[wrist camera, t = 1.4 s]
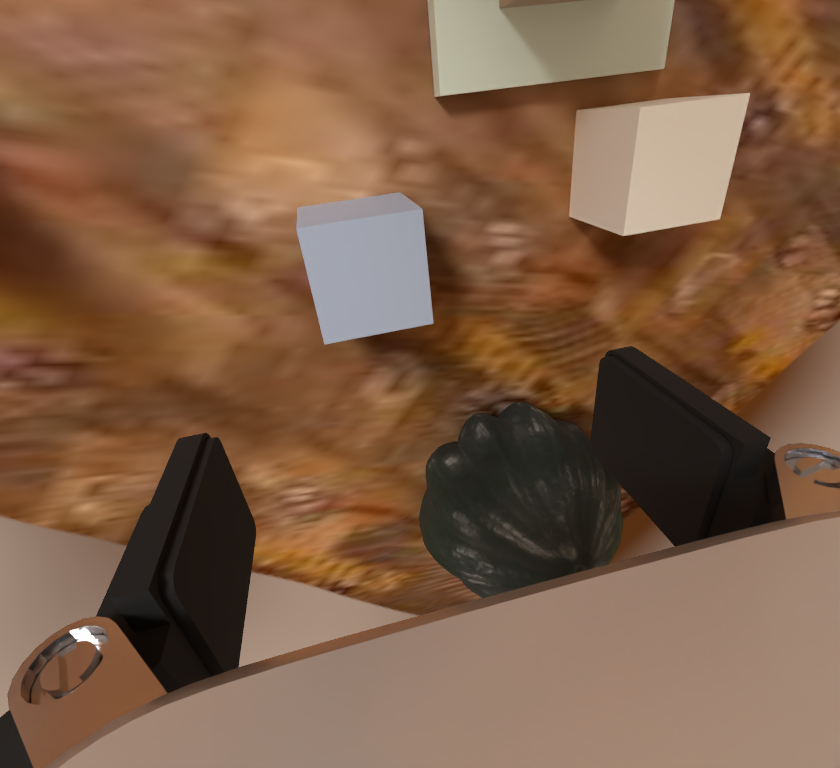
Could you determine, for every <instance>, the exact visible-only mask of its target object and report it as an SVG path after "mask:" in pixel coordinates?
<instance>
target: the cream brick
mask: <svg viewBox="0 0 840 768" xmlns="http://www.w3.org/2000/svg"><path fill="white" fill-rule="evenodd" d="M749 97H750V93H741V94H726V95H710V96H694V97H679V98H666V99H658V100H650V101H643V102H635V103H627V104H620V105H612V106H605V107H597V108H589V109H582V110H576V124H575V138H574V152H573V167H572V181H571V196H570V210H569V217H572V218H574V219H577V220H580V221H583V222H585V223H588V224H591V225H594V226H597V227H599V228H602V229H605V230H608V231H611V232H613V233H616V234H619V235H622V236H627V235H632V234H638V233H644V232H650V231H655V230H661V229H667V228H673V227H678V226H684V225H690V224H696V223H701V222H707V221H713V220H719V219H720V217H721V213H722V209H723V205H724V201H725V196H726V192H727V188H728V184H729V180H730V176H731V172H732V167H733V163H734V159H735V155H736V151H737V147H738V142H739V138H740V134H741V130H742V126H743V122H744V117H745V113H746V109H747V105H748V101H749Z"/></svg>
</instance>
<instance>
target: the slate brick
mask: <svg viewBox="0 0 840 768" xmlns="http://www.w3.org/2000/svg"><path fill="white" fill-rule="evenodd" d="M296 230H297V234H298V238H299V242H300V246H301V250H302V254H303V258H304V262H305V266H306V271H307V275H308V279H309V283H310V287H311V291H312V295H313V299H314V303H315V307H316V311H317V316H318V320H319V324H320V328H321V332H322V336H323V340H324V344H330V343H335V342H340V341H345V340H350V339H356V338H361V337H366V336H371V335H377V334H382V333H387V332H392V331H398V330H403V329H408V328H413V327H418V326H424V325H429V324H434V323H433V313H432V302H431V292H430V282H429V271H428V261H427V251H426V241H425V230H424V220H423V210H422V208H421V207H419V206H418V205H417V204H415V203H414V202H413V201H411V200H410V199H409V198H407V197H406V196H404V195H403V194H402V193H400V192H398V193H392V194H385V195H378V196H372V197H365V198H358V199H352V200H345V201H338V202H332V203H325V204H318V205H311V206H305V207H298V212H297V225H296Z"/></svg>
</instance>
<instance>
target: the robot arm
mask: <svg viewBox="0 0 840 768" xmlns="http://www.w3.org/2000/svg"><path fill="white" fill-rule="evenodd" d="M769 441H770V437H768V436H767V435H766V434H764V433H763V432H761V431H760V430H758V429H757V428H755V427H754V426H752V425H751V424H749V423H748V422H746V421H744V420H743V419H742V418H740V417H739V416H737V415H736V414H734V413H733V412H731V411H730V410H728V409H727V408H725V407H724V406H722V405H721V404H719V403H718V402H716V401H714V400H713V399H711V398H710V397H708V396H707V395H705V394H704V393H702V392H701V391H699V390H698V389H696V388H695V387H693V386H692V385H690V384H689V383H687V382H686V381H684V380H683V379H681V378H680V377H678V376H677V375H675V374H674V373H672V372H671V371H669V370H668V369H666V368H665V367H663V366H662V365H660V364H659V363H657V362H656V361H654V360H653V359H651V358H650V357H648V356H647V355H645V354H644V353H642V352H641V351H639V350H638V349H636V348H634V347H632V346H630V347H624V348H619V349H614V350H610V351H608V352H607V353H606V355H605V357H604V358H602V359H601V360H600V364H599V372H598V380H597V389H596V398H595V406H594V415H593V424H592V433H591V448H592V451H593V453H594V455H595V456H596V457H597V458H598V460H599V461H600V462H601V463H602V464H603V465H604V466H605V468H606V469H607V470H608V471H609V472H610V473H611V474H612V475H613V477H614V478H615V479H616V480H617V481H618V482H619V483H620V485H621V486H622V487H623V488H624V489H625V490H626V491H627V493H628V494H629V495H630V496H631V497H632V498H633V499H634V500H635V502H636V503H637V504H638V505H639V506H640V507H641V508H642V510H643V511H644V512H645V513H646V514H647V515H648V516H649V517H650V519H651V520H652V521H653V522H654V523H655V524H656V525H657V527H658V528H659V529H660V530H661V531H662V532H663V533H664V535H665V536H666V537H667V538H668V539H669V540H670V541H671V542H672V544H673V545H674V546H675V547H672V548H668V549H664V550H661V551H657V552H653V553H649V554H646V555H642V556H638V557H634V558H631V559H627V560H623V561H619V562H615V563H612V564H608V565H604V566H600V567H597V568H593V569H589V570H585V571H582V572H578V573H574V574H571V575H567V576H563V577H560V578H556V579H552V580H549V581H545V582H541V583H537V584H534V585H530V586H526V587H523V588H519V589H515V590H512V591H508V592H504V593H501V594H497V595H493V596H490V597H486V598H482V599H479V600H475V601H471V602H468V603H464V604H460V605H457V606H453V607H449V608H446V609H442V610H439V611H435V612H431V613H428V614H424V615H421V616H417V617H413V618H410V619H406V620H403V621H399V622H396V623H392V624H388V625H385V626H381V627H377V628H374V629H370V630H367V631H363V632H359V633H356V634H352V635H348V636H345V637H341V638H338V639H334V640H331V641H327V642H324V643H320V644H317V645H313V646H310V647H306V648H303V649H300V650H297V651H293V652H290V653H286V654H283V655H279V656H276V657H272V658H269V659H266V660H262V661H259V662H256V663H252V664H249V665H245V666H242V667H239V668H238V666H239V659H240V651H241V644H242V636H243V628H244V621H245V614H246V605H247V599H248V591H249V584H250V576H251V569H252V561H253V554H254V546H255V539H256V527H255V522H254V519H253V516H252V514H251V512H250V509H249V507H248V505H247V502H246V500H245V498H244V495H243V493H242V490H241V488H240V486H239V483H238V481H237V479H236V476H235V474H234V472H233V469H232V467H231V464H230V462H229V460H228V457H227V455H226V453H225V450H224V448H223V446H222V443H221V441H220V439H219V438H217V437H215V438H211V437H210V436H209V434H207V433H203V434H198V435H193V436H188V437H183V438H180V439H178V441H177V442H176V445H175V447H174V449H173V452H172V454H171V456H170V459H169V461H168V463H167V466H166V468H165V470H164V473H163V475H162V477H161V480H160V482H159V484H158V487H157V489H156V491H155V494H154V496H153V498H152V501H151V503H150V504H149V505H148V506H146V507H145V508H144V510H143V512H142V513H141V516H140V518H139V520H138V522H137V525H136V527H135V529H134V531H133V534H132V536H131V538H130V541H129V543H128V545H127V547H126V550H125V552H124V554H123V556H122V559H121V561H120V563H119V566H118V568H117V570H116V572H115V575H114V577H113V579H112V581H111V584H110V586H109V588H108V590H107V593H106V595H105V597H104V599H103V602H102V604H101V607H100V609H99V611H98V613H97V615H96V617H91V618H85V619H82V620H79V621H77V622H74V623H72V624H70V625H67V626H66V627H64V628H62V629H61V630H59V631H58V632H56V633H54V634H53V635H51V636H50V637H49V638H47V639H46V640H45V641H44V642H43V643H42V644H40V645H39V646H38V647H37V648H36V649H35V650H34V651H33V652H32V653H31V654H30V655H29V657H28V658H27V659H26V660H25V661H24V662H23V663H22V665H21V666H20V668H19V669H18V671H17V673H16V674H15V676H14V678H13V679H12V682H11V685H10V688H9V691H8V704H9V709H10V710H9V711H8V712H6V713H5V714H4V715H3V716H2V717H0V768H840V452H838V451H835V450H833V449H830V448H826V447H822V446H818V445H813V444H804V443H796V444H788V445H785V446H782V447H780V448H779V449H778V450H777V451H776V452H775V453H773V452H772V451H770V450H769V449H767V446H768V443H769Z"/></svg>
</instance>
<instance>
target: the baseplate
mask: <svg viewBox="0 0 840 768" xmlns="http://www.w3.org/2000/svg"><path fill="white" fill-rule="evenodd" d="M427 1H428V15H429V28H430V42H431V55H432V69H433V83H434V96H435V97H439V96H447V95H455V94H463V93H472V92H480V91H488V90H496V89H504V88H513V87H521V86H529V85H537V84H545V83H554V82H562V81H570V80H578V79H586V78H595V77H603V76H611V75H619V74H627V73H636V72H644V71H652V70H659V69H664V68H665V61H666V55H667V48H668V41H669V35H670V28H671V22H672V15H673V8H674V2H675V0H427Z"/></svg>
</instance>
